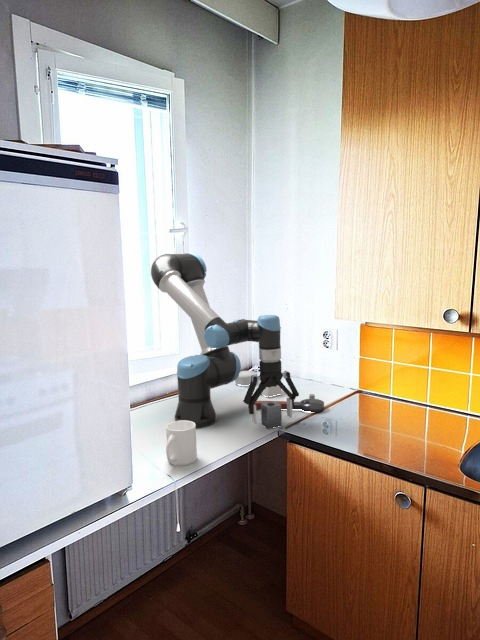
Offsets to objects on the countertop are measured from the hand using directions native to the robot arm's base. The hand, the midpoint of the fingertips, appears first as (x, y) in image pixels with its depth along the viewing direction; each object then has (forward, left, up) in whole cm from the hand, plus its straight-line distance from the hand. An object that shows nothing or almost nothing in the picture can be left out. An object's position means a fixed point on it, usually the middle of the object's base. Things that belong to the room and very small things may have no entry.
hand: (272, 419), depth 163 cm
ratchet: (+4, +18, -2) cm, 19 cm away
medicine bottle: (-4, +36, -3) cm, 37 cm away
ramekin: (-17, +52, -3) cm, 55 cm away
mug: (-24, -32, -3) cm, 40 cm away
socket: (0, 0, -2) cm, 2 cm away
